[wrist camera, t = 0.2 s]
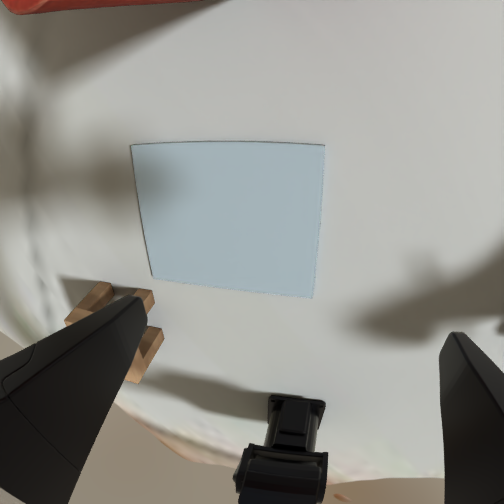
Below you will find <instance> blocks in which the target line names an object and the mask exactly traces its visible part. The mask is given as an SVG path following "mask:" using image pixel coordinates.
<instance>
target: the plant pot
mask: <svg viewBox="0 0 504 504" xmlns="http://www.w3.org/2000/svg"><path fill="white" fill-rule="evenodd" d="M1 1H2V2H3V3H4V5H5V6H6V7H7V8H8V10H9V11H10V12H12V13H14V14H17V15H26V14H37V13H46V12H53V11H62V10H73V9H87V8H101V7H116V6H129V5H148V4H162V3H180V2H192V1H202V0H1Z"/></svg>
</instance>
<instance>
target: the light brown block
mask: <svg viewBox="0 0 504 504" xmlns="http://www.w3.org/2000/svg"><path fill="white" fill-rule="evenodd" d="M113 296H114V292H113V289H112V286H111V283H106V282H99V283H98V284H97V285H96V286H95V287H94V288H93V289H92V290H91V291H90V292H89V293H88V294H87V295H86V297H85V298H84V299H83V300H82V301H81V302H80V303H79V304H78V305H77V306H76V307H75V308H74V310H73V311H72V312H71V313H70V314H69V315H68V316H67V317H66V318H65V320H64V322H65V324H66V326H69V325H71V324H73V323H75V322H77V321H79V320H80V319H82V318H84V317H86V316H88V315H90V314H92V313H94V312H96V311H98V310H100V309H102V308H104V307H105V306H106V304H107V303H108V302H109V301H110V300H111V299H112V297H113ZM134 296H139V297H141V298H142V300H143V303H144V307H145V310H146V314H147V313H148V312H149V311H150V309H151V308H152V306H153V305H154V304H155V301H154V297H153V293H152V291H151V290H145V289H138V290H137V291H136V293H135V294H134ZM163 340H164V336H163V332H162V329H160V328H155V327H151V326H149V327H148V329H147V331H146V332H145V334H144V335H143V337H142V338H141V341H140V344H139V346H138V349H137V352H136V354H135V357H134V360H133V362H132V364H131V367H130V369H129V371H128V373H127V375H126V377H125V379H124V380H127V381H130V382H133V383H137V384H139V382H140V380H141V378H142V377H143V375H144V373H145V371H146V370H147V368H148V366H149V364H150V363H151V361H152V359H153V358H154V356H155V354H156V352H157V351H158V349H159V347H160V346H161V344H162V342H163Z"/></svg>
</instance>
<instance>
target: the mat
mask: <svg viewBox="0 0 504 504" xmlns="http://www.w3.org/2000/svg"><path fill="white" fill-rule="evenodd" d="M131 149H132V158H133V165H134V173H135V180H136V187H137V193H138V200H139V206H140V212H141V218H142V224H143V229H144V235H145V240H146V245H147V250H148V255H149V260H150V265H151V270H152V274H153V279H158V280H165V281H172V282H179V283H186V284H194V285H201V286H209V287H216V288H224V289H232V290H240V291H249V292H257V293H266V294H275V295H284V296H293V297H302V298H313V289H314V280H315V271H316V261H317V251H318V240H319V229H320V217H321V204H322V189H323V173H324V155H325V145H319V144H304V143H286V142H259V141H193V142H166V143H148V144H134V145H131Z"/></svg>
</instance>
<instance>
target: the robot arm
mask: <svg viewBox="0 0 504 504" xmlns="http://www.w3.org/2000/svg"><path fill="white" fill-rule="evenodd" d="M146 326H147V314H146V310H145V307H144V303H143V300H142V298H141V297H139V296H134V295H127V296H125V297H123V298H121V299H119V300H117V301H115V302H114V303H112V304H110V305H108V306H106V307H104V308H102V309H100V310H98V311H96V312H94V313H92V314H90V315H88V316H86V317H84V318H82V319H80V320H79V321H77V322H75V323H73V324H71V325H69V326H67V327H65V328H63V329H61V330H59V331H57V332H56V333H54V334H52V335H50V336H48V337H46V338H44V339H42V340H40V341H38V342H37V343H35V344H33V345H31V346H29V347H27V348H25V349H23V350H21V351H19V352H17V353H15V354H13V355H11V356H9V357H7V358H4V359H3V360H0V504H68V502H69V500H70V497H71V495H72V492H73V490H74V488H75V485H76V483H77V481H78V478H79V476H80V474H81V471H82V469H83V466H84V464H85V462H86V460H87V457H88V455H89V453H90V451H91V448H92V446H93V444H94V442H95V439H96V437H97V435H98V433H99V431H100V428H101V427H102V424H103V422H104V420H105V418H106V416H107V414H108V412H109V409H110V408H111V405H112V403H113V401H114V399H115V397H116V395H117V393H118V391H119V389H120V387H121V385H122V383H123V381H124V379H125V377H126V375H127V373H128V371H129V369H130V367H131V364H132V362H133V360H134V357H135V354H136V352H137V349H138V346H139V344H140V341H141V338H142V336H143V333H144V331H145V328H146ZM439 371H440V406H441V418H442V429H443V443H444V466H445V502H444V503H445V504H504V373H503V372H502V371H501V370H500V369H499V368H498V367H497V366H496V365H495V363H494V362H493V361H492V360H491V359H490V358H489V357H488V356H487V355H486V354H485V353H484V352H483V351H482V350H481V349H480V348H479V347H478V346H477V345H476V344H475V343H474V342H473V341H472V340H471V339H470V338H469V337H468V336H467V335H466V334H465V333H463V332H451V333H450V334H449V335H448V337H447V339H446V341H445V343H444V345H443V347H442V349H441V351H440V355H439ZM325 407H326V403H325V402H322V401H312V400H303V399H294V398H286V397H278V396H270V397H269V401H268V424H269V425H268V429H267V434H266V438H265V442H264V446H260V445H254V444H252V443H249V446H248V448H245V449H244V451H243V455H242V458H241V461H240V463H239V465H238V467H237V469H236V471H235V473H234V475H233V480H234V482H235V483H236V493H238V494H240V495H239V499H238V503H239V504H321V503H322V501H323V498H324V494H325V489H326V482H327V467H328V452H323V453H320V452H314V451H315V444H316V436H317V430H318V429H319V426H320V423H321V420H322V417H323V413H324V410H325Z"/></svg>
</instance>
